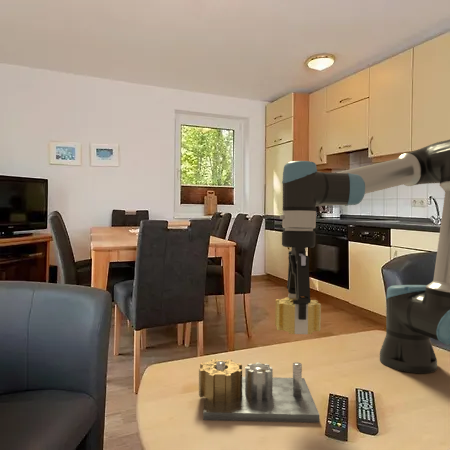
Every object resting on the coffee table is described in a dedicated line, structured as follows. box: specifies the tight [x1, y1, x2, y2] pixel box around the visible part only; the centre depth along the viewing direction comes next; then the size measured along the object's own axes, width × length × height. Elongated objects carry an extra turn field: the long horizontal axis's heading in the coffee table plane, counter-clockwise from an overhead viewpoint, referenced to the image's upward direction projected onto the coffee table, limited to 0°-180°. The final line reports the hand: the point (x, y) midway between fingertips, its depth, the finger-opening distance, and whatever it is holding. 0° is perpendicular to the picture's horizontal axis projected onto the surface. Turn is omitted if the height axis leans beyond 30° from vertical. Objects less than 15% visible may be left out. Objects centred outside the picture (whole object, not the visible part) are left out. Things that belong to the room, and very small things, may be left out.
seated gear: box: [198, 358, 243, 403], centre depth 87 cm, size 10×10×6 cm
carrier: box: [202, 361, 321, 424], centre depth 86 cm, size 24×18×9 cm
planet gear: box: [274, 296, 322, 335], centre depth 86 cm, size 10×10×6 cm
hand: (297, 326), depth 86 cm, fingers closed on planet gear, 10 cm apart
